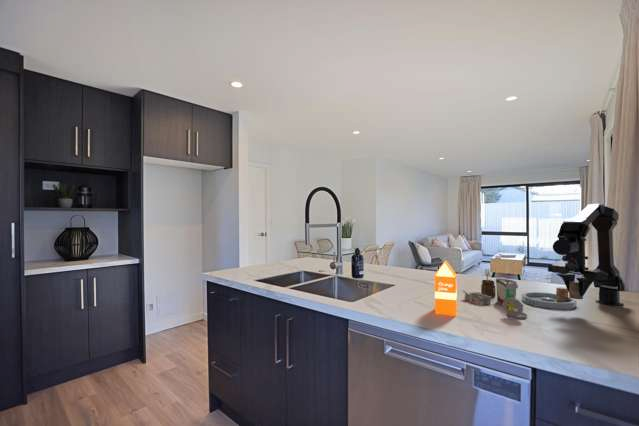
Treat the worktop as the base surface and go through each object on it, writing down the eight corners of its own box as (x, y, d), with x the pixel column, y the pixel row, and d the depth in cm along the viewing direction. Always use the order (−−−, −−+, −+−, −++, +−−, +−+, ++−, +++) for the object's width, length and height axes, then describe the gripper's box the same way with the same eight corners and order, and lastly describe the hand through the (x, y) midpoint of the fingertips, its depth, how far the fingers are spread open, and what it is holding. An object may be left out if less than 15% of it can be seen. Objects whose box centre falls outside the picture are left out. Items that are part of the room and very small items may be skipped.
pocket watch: (524, 314, 118) (523, 288, 118) (531, 321, 110) (530, 293, 110) (499, 312, 121) (499, 286, 121) (505, 319, 113) (504, 291, 113)
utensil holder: (482, 296, 144) (481, 270, 144) (480, 293, 150) (479, 268, 150) (496, 297, 142) (496, 271, 142) (494, 294, 148) (493, 269, 148)
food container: (523, 309, 124) (523, 284, 124) (506, 308, 125) (506, 284, 126) (511, 301, 136) (510, 278, 136) (496, 300, 137) (495, 278, 138)
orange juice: (457, 309, 125) (456, 260, 125) (456, 316, 117) (455, 263, 117) (436, 307, 128) (435, 259, 128) (434, 313, 120) (433, 262, 120)
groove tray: (547, 296, 144) (547, 291, 144) (587, 307, 125) (587, 301, 125) (512, 298, 140) (512, 293, 140) (548, 310, 122) (548, 304, 122)
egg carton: (462, 299, 141) (461, 290, 141) (476, 298, 142) (476, 289, 142) (478, 306, 130) (477, 296, 130) (493, 304, 132) (493, 295, 132)
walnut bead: (575, 296, 120) (575, 280, 120) (585, 298, 116) (585, 282, 116) (566, 296, 119) (566, 281, 119) (576, 299, 115) (576, 283, 115)
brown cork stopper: (566, 301, 132) (565, 287, 132) (570, 304, 129) (569, 289, 129) (555, 300, 134) (554, 287, 134) (558, 303, 130) (558, 289, 130)
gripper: (535, 251, 126) (536, 289, 125) (582, 257, 107) (582, 302, 107) (559, 250, 128) (560, 288, 127) (608, 256, 109) (609, 300, 109)
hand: (576, 294), depth 118 cm, fingers closed on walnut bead, 4 cm apart
